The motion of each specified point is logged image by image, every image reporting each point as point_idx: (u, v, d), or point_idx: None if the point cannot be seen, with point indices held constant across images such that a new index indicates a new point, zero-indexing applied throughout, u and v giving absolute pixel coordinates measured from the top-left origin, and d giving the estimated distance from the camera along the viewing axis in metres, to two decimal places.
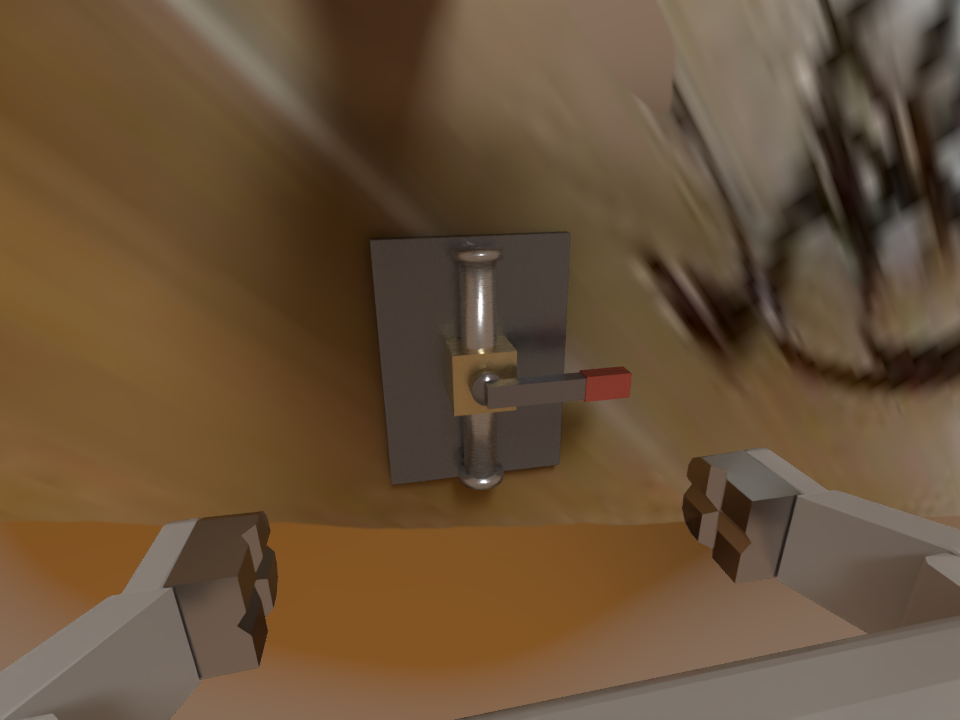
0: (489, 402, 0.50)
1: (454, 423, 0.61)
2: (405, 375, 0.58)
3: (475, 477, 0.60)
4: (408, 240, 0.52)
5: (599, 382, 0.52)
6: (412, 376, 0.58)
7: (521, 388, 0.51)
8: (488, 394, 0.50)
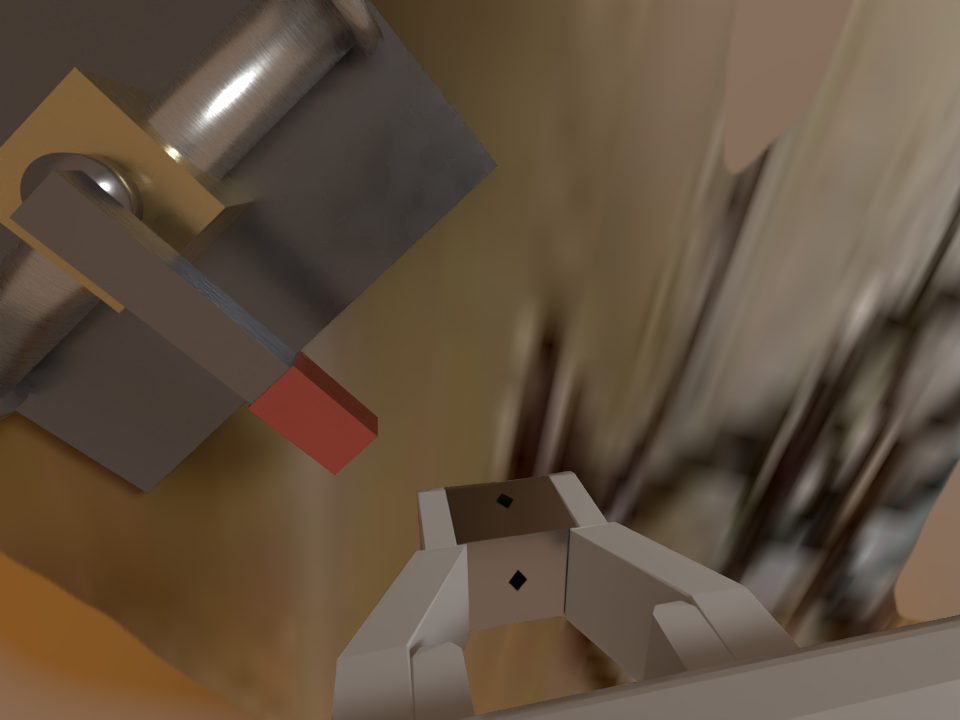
0: (28, 206, 0.18)
1: (9, 249, 0.26)
2: None
3: None
4: None
5: (307, 398, 0.22)
6: (0, 76, 0.23)
7: (136, 253, 0.19)
8: (42, 187, 0.17)
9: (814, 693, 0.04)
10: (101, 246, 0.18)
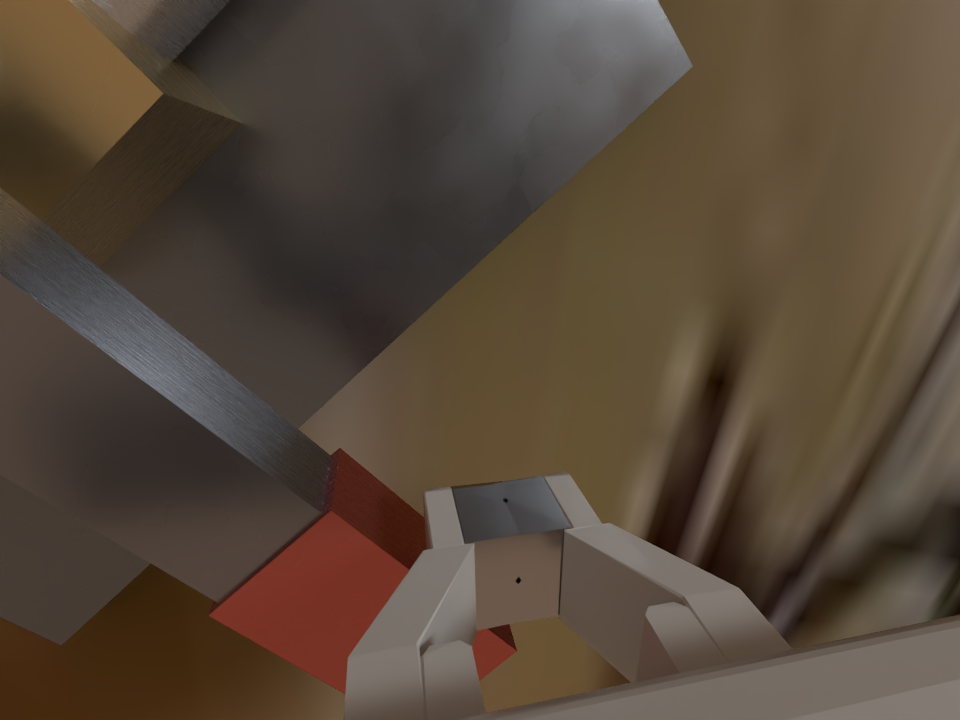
0: None
1: None
2: None
3: None
4: None
5: (362, 582, 0.09)
6: None
7: None
8: None
9: (814, 693, 0.04)
10: None
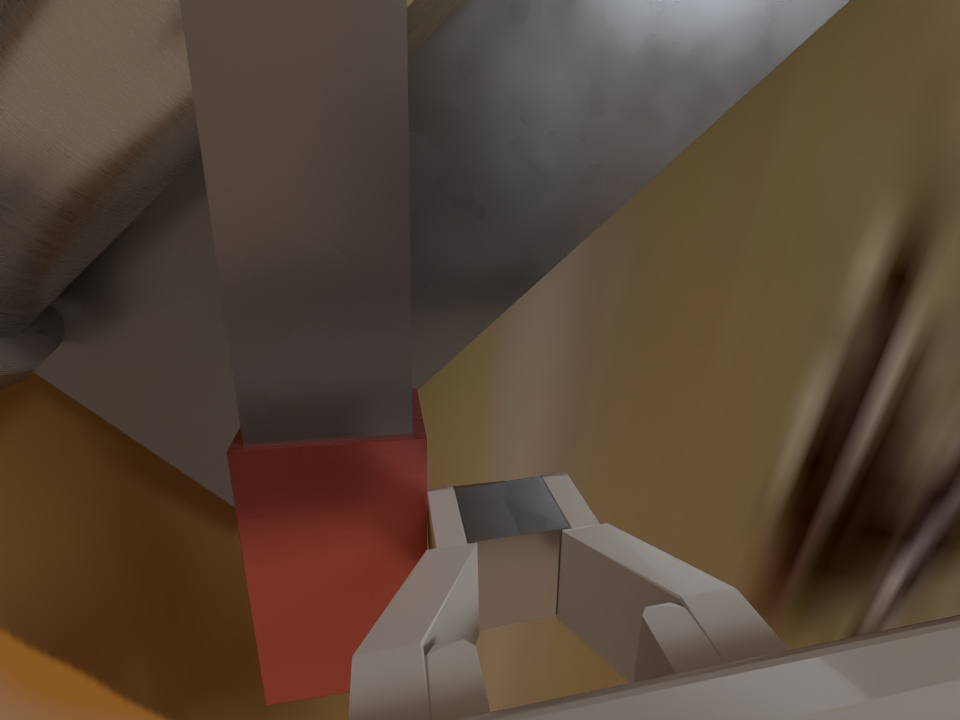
0: None
1: None
2: None
3: None
4: None
5: (381, 522, 0.08)
6: None
7: None
8: None
9: (814, 693, 0.04)
10: None
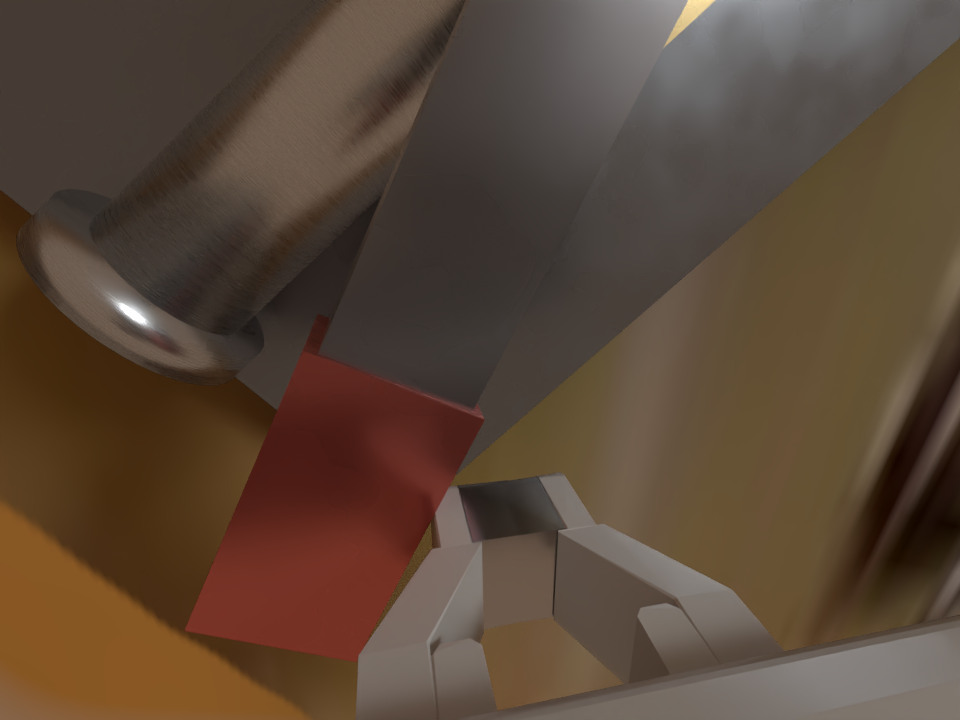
0: None
1: (262, 37, 0.13)
2: None
3: (107, 253, 0.11)
4: None
5: (401, 483, 0.08)
6: None
7: None
8: None
9: (814, 693, 0.04)
10: None
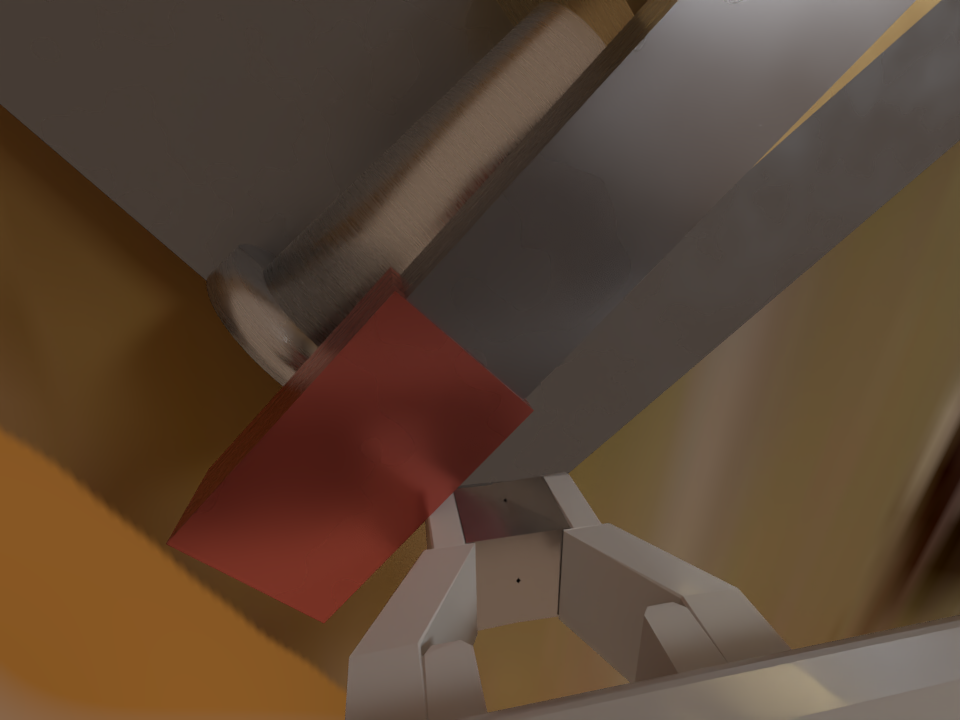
0: None
1: (399, 99, 0.14)
2: None
3: (287, 307, 0.12)
4: None
5: (436, 450, 0.08)
6: None
7: (861, 15, 0.07)
8: None
9: (814, 693, 0.04)
10: None
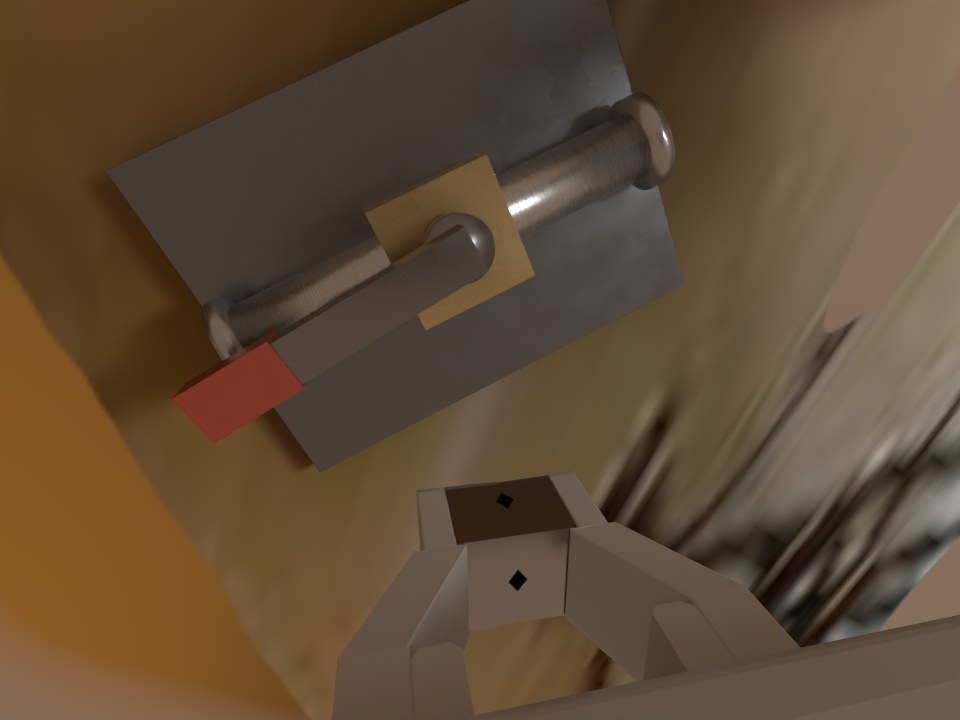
0: (469, 243, 0.23)
1: (315, 247, 0.31)
2: (371, 106, 0.29)
3: (234, 329, 0.27)
4: (609, 20, 0.30)
5: (268, 392, 0.23)
6: (374, 121, 0.29)
7: (422, 301, 0.24)
8: (479, 258, 0.24)
9: (814, 693, 0.04)
10: (432, 279, 0.23)
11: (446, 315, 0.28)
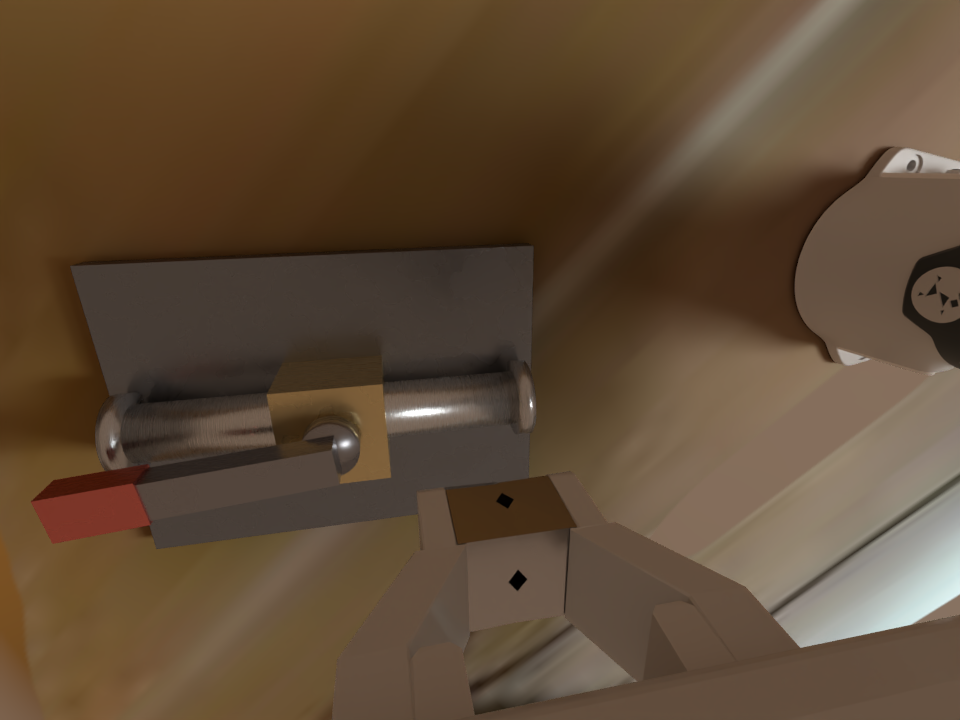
0: (330, 462, 0.29)
1: (228, 377, 0.35)
2: (318, 294, 0.34)
3: (122, 433, 0.31)
4: (530, 299, 0.37)
5: (118, 519, 0.27)
6: (316, 305, 0.35)
7: (276, 490, 0.29)
8: (335, 473, 0.29)
9: (814, 693, 0.04)
10: (290, 478, 0.29)
11: None
